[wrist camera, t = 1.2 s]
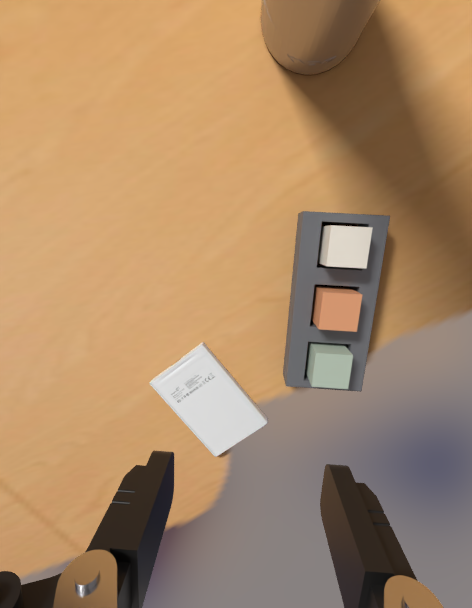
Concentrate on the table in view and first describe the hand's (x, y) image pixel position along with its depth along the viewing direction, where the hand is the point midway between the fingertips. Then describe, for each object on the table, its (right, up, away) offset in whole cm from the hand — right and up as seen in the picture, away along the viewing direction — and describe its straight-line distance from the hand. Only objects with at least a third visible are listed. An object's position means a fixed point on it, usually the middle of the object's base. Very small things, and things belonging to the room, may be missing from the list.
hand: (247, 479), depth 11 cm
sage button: (+9, +1, +22) cm, 24 cm away
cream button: (+10, +12, +19) cm, 25 cm away
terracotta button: (+10, +6, +21) cm, 24 cm away
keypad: (+10, +7, +22) cm, 25 cm away
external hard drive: (-4, -5, +26) cm, 27 cm away
